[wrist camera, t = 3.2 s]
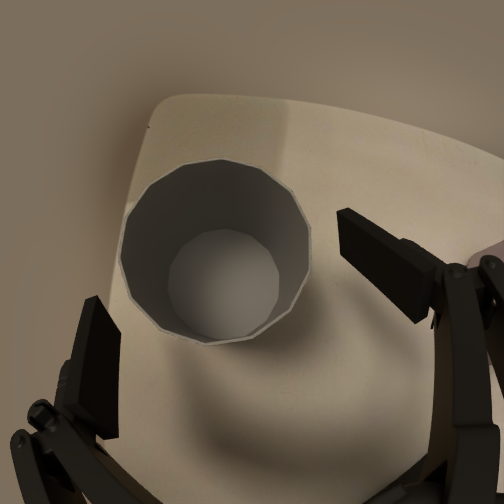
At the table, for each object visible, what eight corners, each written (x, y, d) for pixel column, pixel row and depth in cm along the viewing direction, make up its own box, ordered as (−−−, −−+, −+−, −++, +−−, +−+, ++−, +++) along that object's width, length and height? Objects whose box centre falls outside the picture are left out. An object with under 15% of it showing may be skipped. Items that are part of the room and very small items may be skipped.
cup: (153, 319, 21) (92, 304, 11) (187, 219, 23) (159, 143, 14) (263, 354, 21) (286, 368, 11) (292, 248, 23) (328, 186, 13)
